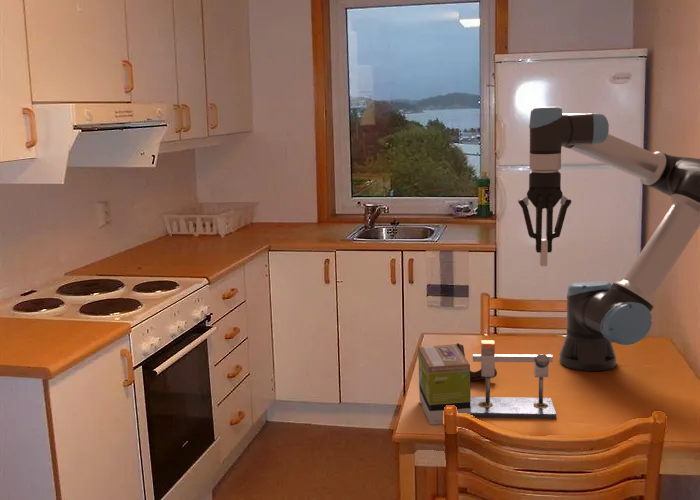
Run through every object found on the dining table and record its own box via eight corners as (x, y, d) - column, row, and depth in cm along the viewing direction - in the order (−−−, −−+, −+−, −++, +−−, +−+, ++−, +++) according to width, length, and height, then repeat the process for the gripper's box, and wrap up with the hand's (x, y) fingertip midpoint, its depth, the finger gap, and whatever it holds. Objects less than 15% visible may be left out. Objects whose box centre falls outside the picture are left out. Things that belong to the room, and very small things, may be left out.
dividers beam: (550, 401, 186) (551, 351, 184) (552, 405, 183) (553, 355, 181) (472, 400, 188) (472, 350, 186) (473, 404, 186) (473, 354, 183)
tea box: (418, 401, 193) (417, 345, 190) (457, 399, 194) (457, 342, 191) (429, 426, 179) (428, 365, 176) (472, 423, 179) (471, 362, 177)
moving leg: (493, 400, 188) (493, 340, 185) (494, 404, 185) (494, 343, 182) (481, 400, 188) (481, 340, 185) (481, 404, 185) (481, 343, 183)
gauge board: (550, 402, 190) (550, 397, 190) (556, 419, 180) (556, 413, 180) (468, 401, 192) (468, 396, 192) (469, 417, 183) (469, 412, 182)
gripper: (569, 169, 192) (567, 261, 197) (516, 170, 194) (515, 262, 198) (574, 171, 185) (572, 268, 189) (519, 172, 186) (518, 268, 191)
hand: (543, 265), depth 194 cm, fingers closed
